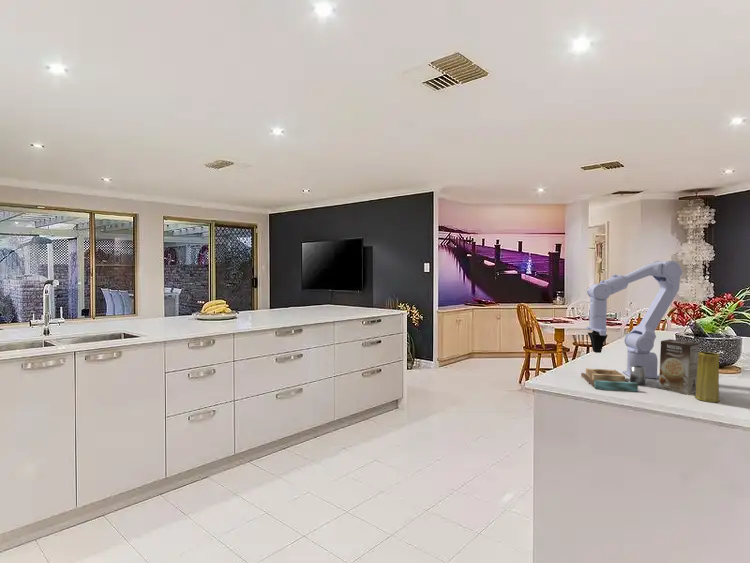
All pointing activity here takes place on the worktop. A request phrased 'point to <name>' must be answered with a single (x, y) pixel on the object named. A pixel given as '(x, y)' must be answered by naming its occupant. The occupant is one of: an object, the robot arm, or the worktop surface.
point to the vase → (707, 377)
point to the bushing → (637, 375)
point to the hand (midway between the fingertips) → (596, 352)
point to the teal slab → (611, 384)
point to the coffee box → (678, 366)
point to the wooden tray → (605, 375)
